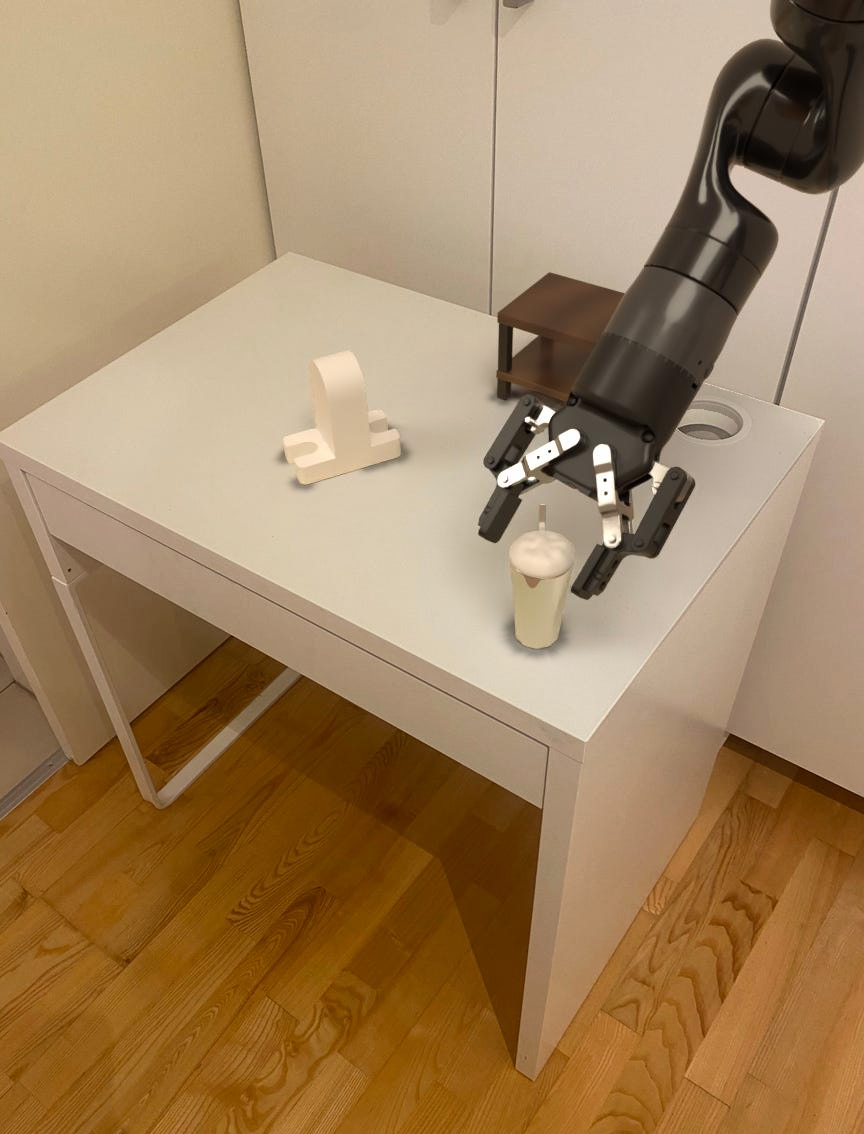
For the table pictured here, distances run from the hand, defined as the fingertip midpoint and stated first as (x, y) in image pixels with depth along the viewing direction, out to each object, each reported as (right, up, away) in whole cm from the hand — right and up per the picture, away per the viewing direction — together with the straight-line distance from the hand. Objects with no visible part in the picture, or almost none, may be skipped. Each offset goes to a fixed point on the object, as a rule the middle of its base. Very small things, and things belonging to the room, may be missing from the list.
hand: (531, 567), depth 69 cm
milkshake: (+1, -4, +6) cm, 7 cm away
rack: (+8, +19, +27) cm, 34 cm away
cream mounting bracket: (-14, +12, +22) cm, 29 cm away
